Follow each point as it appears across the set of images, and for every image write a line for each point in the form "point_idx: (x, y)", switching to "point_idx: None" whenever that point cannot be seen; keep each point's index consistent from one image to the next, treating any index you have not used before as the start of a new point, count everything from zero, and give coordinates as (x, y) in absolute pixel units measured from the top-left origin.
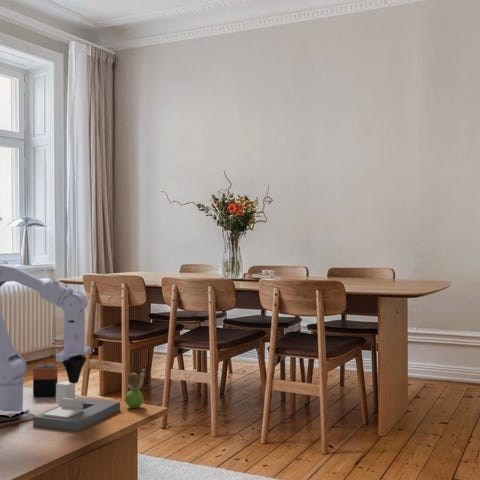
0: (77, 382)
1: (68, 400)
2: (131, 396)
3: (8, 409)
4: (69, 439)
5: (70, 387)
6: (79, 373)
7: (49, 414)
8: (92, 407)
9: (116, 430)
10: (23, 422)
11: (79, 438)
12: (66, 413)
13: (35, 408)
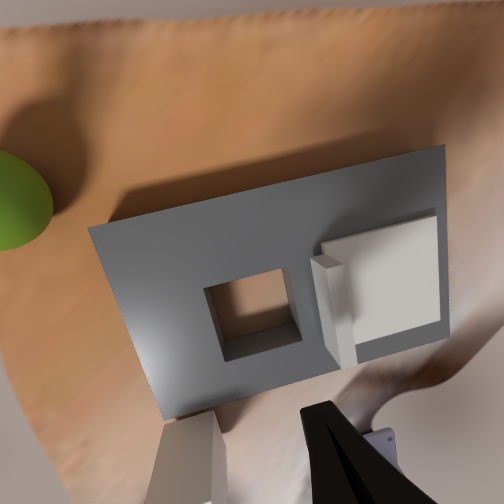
0: (305, 407)
1: (350, 328)
2: (10, 182)
3: (396, 464)
4: (492, 109)
5: (186, 486)
6: (326, 469)
7: (436, 296)
8: (247, 260)
9: (339, 18)
10: (406, 369)
11: (473, 84)
12: (401, 255)
13: (279, 460)
